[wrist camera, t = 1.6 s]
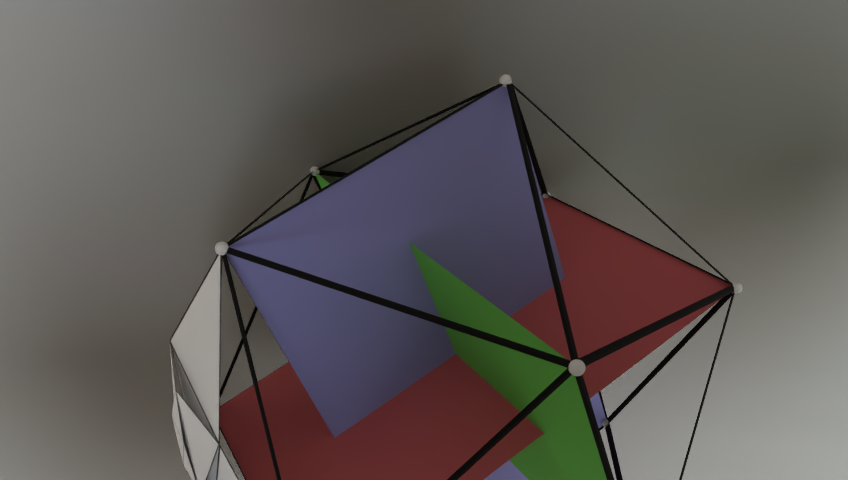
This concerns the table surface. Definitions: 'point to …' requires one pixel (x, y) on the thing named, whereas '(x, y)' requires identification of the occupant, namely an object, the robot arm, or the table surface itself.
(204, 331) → the icosahedron model
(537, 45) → the table surface
